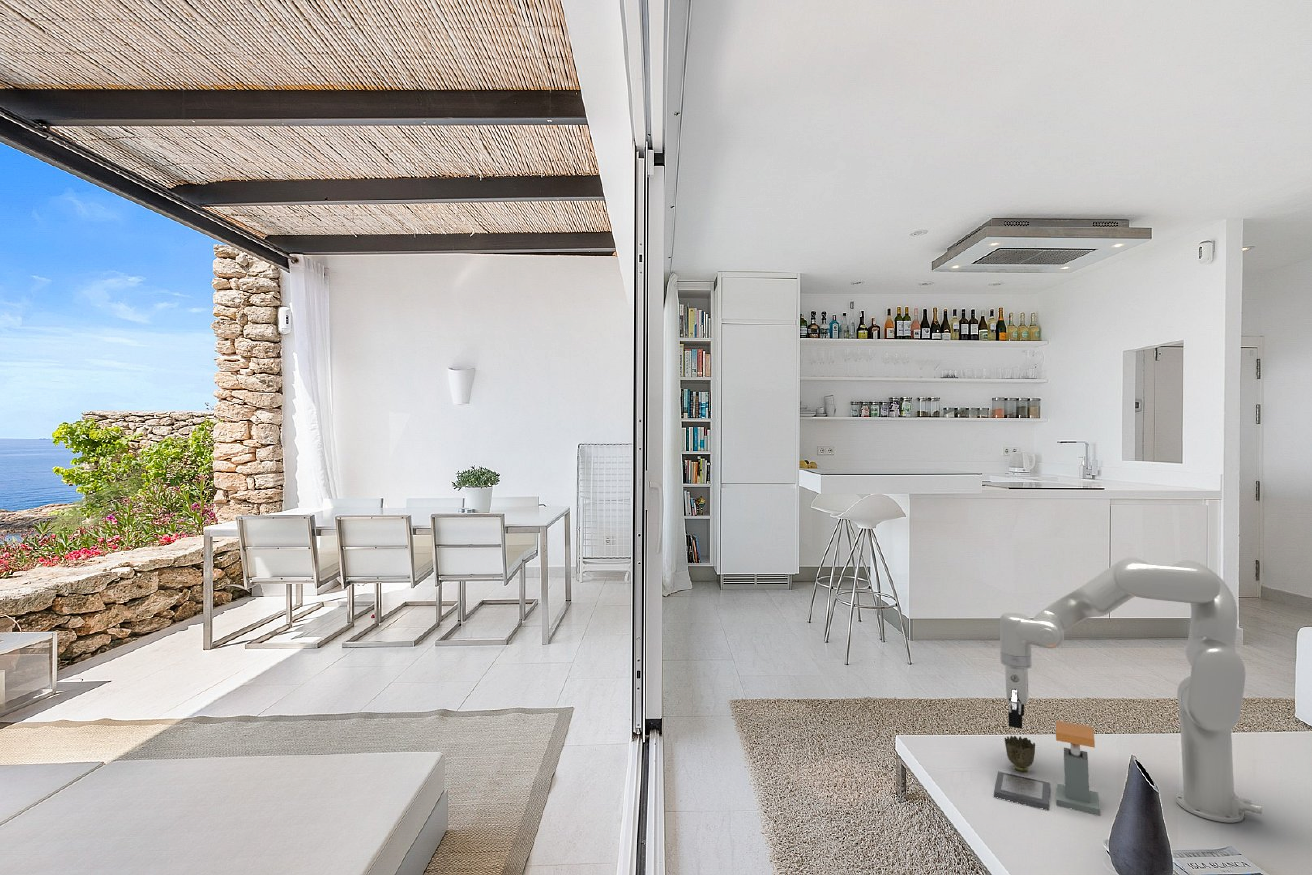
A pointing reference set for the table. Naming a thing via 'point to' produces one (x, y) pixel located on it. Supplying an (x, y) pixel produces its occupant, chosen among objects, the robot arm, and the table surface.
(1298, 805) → the table surface
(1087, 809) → the press stand
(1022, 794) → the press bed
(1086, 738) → the handle
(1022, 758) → the wire cup brush
